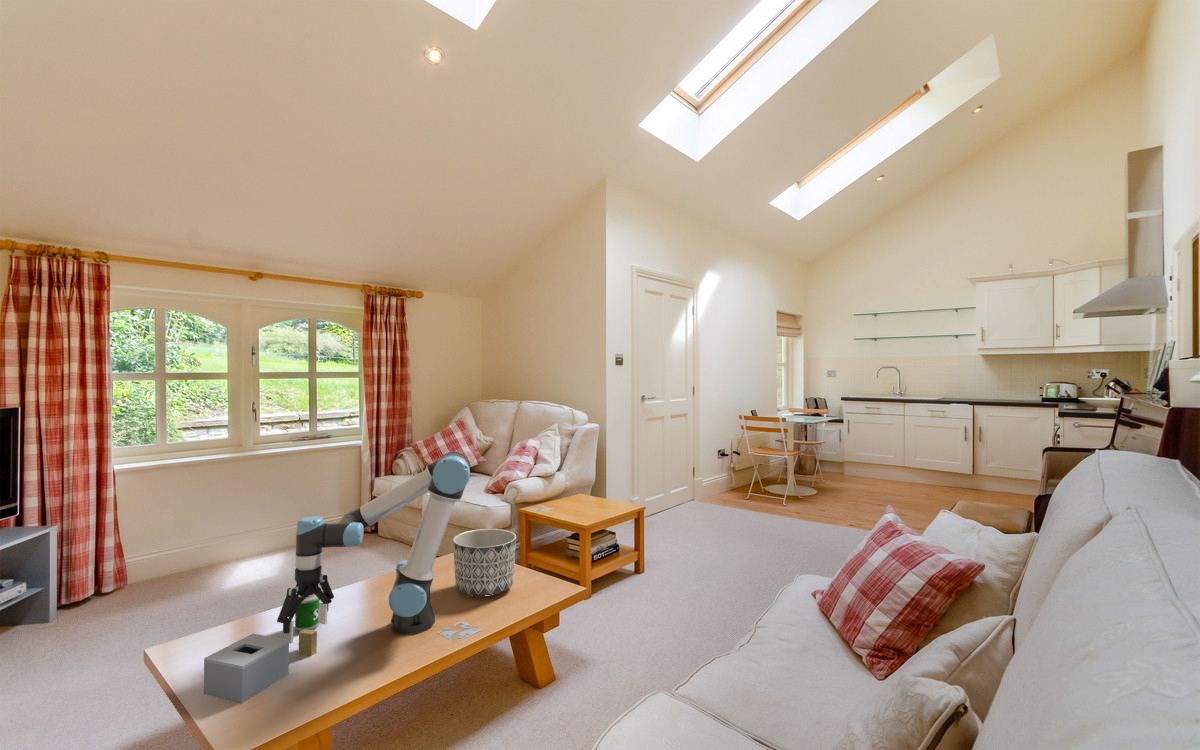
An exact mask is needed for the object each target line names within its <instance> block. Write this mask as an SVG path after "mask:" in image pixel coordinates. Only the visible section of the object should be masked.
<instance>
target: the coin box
mask: <svg viewBox="0 0 1200 750" xmlns="http://www.w3.org/2000/svg"><path fill="white" fill-rule="evenodd" d="M289 661H290V643H289V640H285V639H284V638H280V637H279V638H278V637H273V636H268V635H264V634H259V633H258V634H257V633H251V634H249V635H247V636H245V637H243V638H241V639H239V640H238V641H236V642H233V643H231V644H230V645H227V646H225V647H224V648H223V647H222V649H219V650H218V651H216V652H213V653H212V654H210V655H208V656H206V657H204V658H203V694H204V695H207V696H211V697H215V698H219V699H224V700H227V701H232V702H237V703H241V704H243V703H244V702H246V701H248V700H249V699H251V698H253V697H254V696H256V695H257V694H259V693H261V692H262V691H264V690H265V689H267V688H268V687H270V686H272V685H273V684H275V683H276V682H278V681H279V680H281V679H283V678H285V677H286V676H287V675H289V673H290V671H289V670H290V662H289Z"/></svg>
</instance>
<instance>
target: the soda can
mask: <svg viewBox="0 0 1200 750" xmlns="http://www.w3.org/2000/svg"><path fill="white" fill-rule="evenodd" d="M298 597H301V596H298ZM320 603H321V601H320V600H319V599H318V597H317V596H316V595H315V594H312V595H309V596H308V597H305V599H304V601H302V602H301V604H300V606H299V608H298V610H297V611H296V613H295V615H294V625H295V626H294V627H295V630H297V631H298V633H299V632H300V631H302V630H304V629H307V630H313V631H315V629H316V628H317V627H318V626H319V624H320V623H319V604H320Z"/></svg>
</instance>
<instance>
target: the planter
mask: <svg viewBox="0 0 1200 750" xmlns="http://www.w3.org/2000/svg"><path fill="white" fill-rule="evenodd" d="M452 545H453V546H452V547H453V562H454V563H453V564H454V583H455V589H456V590H457V591H458V592H459V593H461V594H464V595H468V596H471V595H473V596H472V597H475V596H485V595H492V594H496V595H498V594H500V593H503V592H505V591H507V590H508V589H510V588H511V587H512V586H513V583H514V576H515V575H514V573H515V563H516V562H515V561H516V560H515V559H516V546H517V535H516V533H514V532H513V531H510V530H508V529H503V528H502V529H501V528H479V529H473V530H468V531H464V532H462V533H458V534H457V535H455V536H454V537H453V538H452ZM497 593H498V594H497ZM492 596H493V595H492Z"/></svg>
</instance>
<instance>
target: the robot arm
mask: <svg viewBox="0 0 1200 750" xmlns="http://www.w3.org/2000/svg"><path fill="white" fill-rule="evenodd" d="M470 477H471V469H470V462H469V460H468V458H467V457H466V455H464V454H463V453H461V452H458V451H449V452H446V453H444V454H443V455H441V456H439V457H438V458H437V459H436V460H434V461H433V462H431V463H429V464H428V465H426V467H425V470H423V471H421V472H420V473H417V474H415V475H414V476H412V477H411V478H409V479H407V480H405V481H404V482H402V483H400V484H398V485H397V486H394V487H393V488H391V489H390V490H387V491H385V492H384V493H383V494H381V495H379V496H377V497H375V498H373V499H372V500H371V501H368V502H366V503H365V504H364V505H362V506H360V507H358V508H356V509H354V510H351V511H349V512H347V513H346V514H344V515H343V516H342V518H341V519H340V520H339V521H338V522H337V523H336V522H335V523H325V521H324V519H323V518H324V517H322V516H315V515H314V516H313V515H312V516H306V517H302V518H300V519H299V520H298V521H297V523H296V533H295V559H294V560H295V565H294V566H295V569H294V580H295V583H296V585H295V587H288V588H287V590H286V596H285V598H284V601H283V603H282V605H281V606H282V607H281V610H280V612H279V615H278V617H277V619H276V622H277V623H280V624H282V633H283V639H285V640H289V645H291V644H292V643H294V625H295V620H294V621H292V620H293V618H295V613H296V611H297V610H298V608H299V606H300V604H301V602H302V601H304V599H305V597H308V596H309V595H312V594H315V595H316V596H317V597H318V599H319V600H320V604H319V624H320V625H327V624H328V612H329V604H331V603H332V602H333V601H332V600H333V599H334V598H335V596H334V593H333V590H332V587H331V586H330V583H329V581H328V575H327V574H322V568H323V567H322V563H323V548H325V549H327V548H351V547H359V546H361V544H362V543H363V539H364V531H365V530H366V529H368V528H369V527H371V526H372V525H374V524H376V523H377V522H379V521H381V520H383V519H384V518H386V517H388V516H390V515H391V514H393V513H394V512H397V511H399V510H401V509H402V508H403V507H405V506H407V505H409V504H410V503H412V502H414V501H416V500H417V499H419V498H421V497H423V496H425V495H427V494H428V493H429V497H428V501H427V503H426V507H425V510H424V512H423V515H422V517H421V520H420V522H419V523H420V524H419V526H418V529H417V532H416V534H415V537H414V541H413V544H412V547H411V549H410V551H409V555H408V558H407V559H403V560H400V561H398V562H397V564H396V569H395V571H396V575H395V580H394V583H393V586H392V588H391V591H390V593H389V594H388V595H389V596H388V605H389V608H390V610H391V611H392V612H393V613H392V615H391V620H390V630H391V631H392V632H393V633H396V634H399V635H411V634H412V635H414V634H419V633H422V632H425V631H427V630H429V629H431V628H432V627H433V626H434V625H435V623H436V614H435V612H434V609H433V606H432V602H431V587H432V584H433V580H434V577H435V574H434V572H433V566H434V563H435V560H436V558H437V555H438V553H439V549H440V546H441V543H442V541H443V537H444V535H445V533H446V529H447V526H448V523H449V521H450V518H451V515H452V512H453V508H454V506H455V503H456V502H459V501H460V500H462V497H463V494H464V492H465V488H466V487H467V484H469V481H470ZM298 596H301V597H298ZM433 624H434V625H433ZM432 625H433V626H432ZM431 626H432V627H431ZM430 627H431V628H430Z"/></svg>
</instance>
